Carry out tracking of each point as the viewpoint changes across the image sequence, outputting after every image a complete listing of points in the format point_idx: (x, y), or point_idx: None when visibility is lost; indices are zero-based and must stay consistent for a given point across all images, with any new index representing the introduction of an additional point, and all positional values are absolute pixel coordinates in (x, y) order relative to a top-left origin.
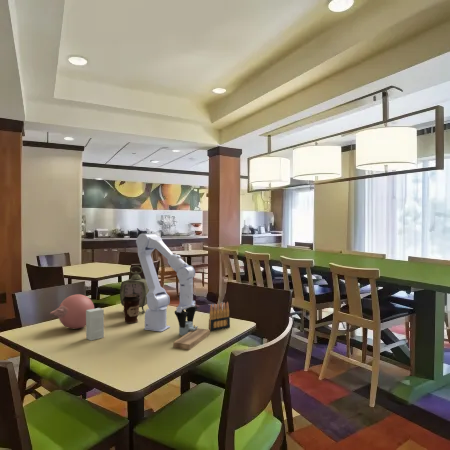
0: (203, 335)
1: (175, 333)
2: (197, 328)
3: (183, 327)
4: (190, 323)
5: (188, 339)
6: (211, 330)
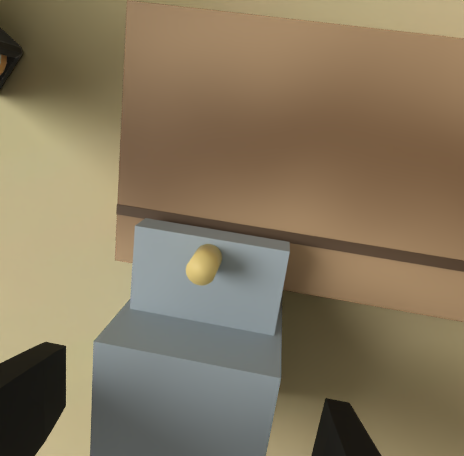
0: (399, 37)
1: None
2: (125, 222)
3: (354, 415)
4: (192, 356)
5: None
6: (7, 39)
